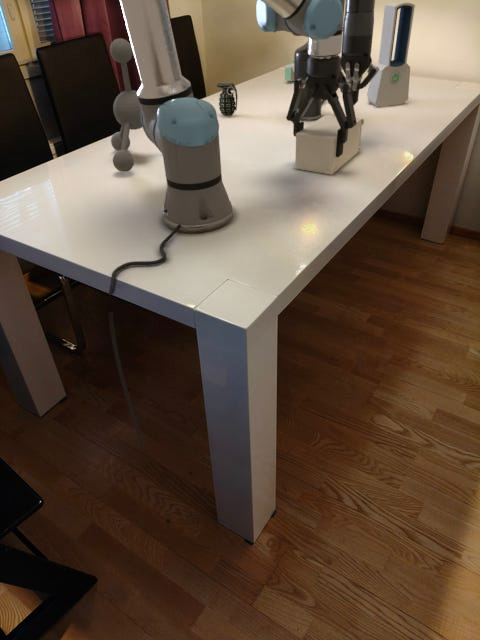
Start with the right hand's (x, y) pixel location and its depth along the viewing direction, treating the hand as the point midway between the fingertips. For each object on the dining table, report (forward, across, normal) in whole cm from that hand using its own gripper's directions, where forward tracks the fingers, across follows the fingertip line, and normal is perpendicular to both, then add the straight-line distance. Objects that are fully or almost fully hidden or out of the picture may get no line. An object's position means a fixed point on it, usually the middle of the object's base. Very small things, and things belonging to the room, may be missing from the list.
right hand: (351, 104), depth 134 cm
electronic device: (+10, +4, -46) cm, 47 cm away
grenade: (+10, +49, -12) cm, 51 cm away
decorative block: (+10, +46, -73) cm, 87 cm away
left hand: (+7, 0, +20) cm, 21 cm away
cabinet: (+11, 0, +14) cm, 18 cm away
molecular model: (+11, +47, +33) cm, 59 cm away
